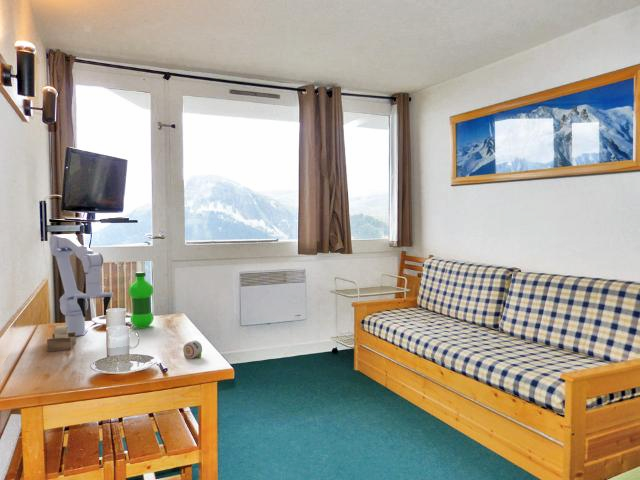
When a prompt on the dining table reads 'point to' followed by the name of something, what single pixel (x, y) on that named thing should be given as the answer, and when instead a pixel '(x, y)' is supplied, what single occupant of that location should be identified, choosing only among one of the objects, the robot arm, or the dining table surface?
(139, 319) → the plastic bottle
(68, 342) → the walnut cradle
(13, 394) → the dining table surface
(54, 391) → the dining table surface
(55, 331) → the birch block
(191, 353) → the roller toy
